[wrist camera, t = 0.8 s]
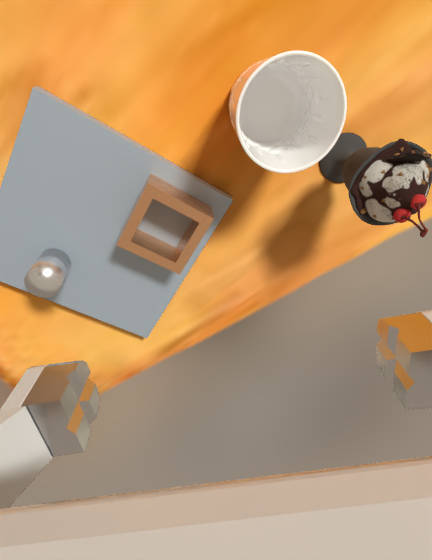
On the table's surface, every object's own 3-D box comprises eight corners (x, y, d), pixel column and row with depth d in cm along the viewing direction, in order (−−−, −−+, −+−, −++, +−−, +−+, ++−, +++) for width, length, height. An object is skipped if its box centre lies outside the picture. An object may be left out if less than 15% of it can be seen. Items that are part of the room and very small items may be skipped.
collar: (121, 230, 38) (116, 245, 35) (150, 173, 35) (147, 183, 32) (179, 258, 40) (179, 274, 37) (211, 206, 37) (214, 218, 34)
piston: (35, 267, 39) (19, 289, 35) (45, 243, 38) (29, 263, 34) (65, 279, 40) (52, 302, 36) (75, 256, 39) (64, 277, 35)
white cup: (231, 45, 32) (249, 38, 23) (316, 64, 33) (363, 64, 24) (215, 140, 36) (226, 164, 27) (292, 154, 37) (325, 181, 28)
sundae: (336, 203, 40) (410, 269, 27) (298, 159, 37) (361, 209, 24) (387, 158, 38) (494, 206, 25) (351, 108, 35) (450, 133, 22)
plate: (-20, 264, 40) (-27, 271, 39) (38, 86, 32) (32, 87, 31) (147, 330, 46) (146, 338, 45) (231, 196, 39) (232, 200, 37)
